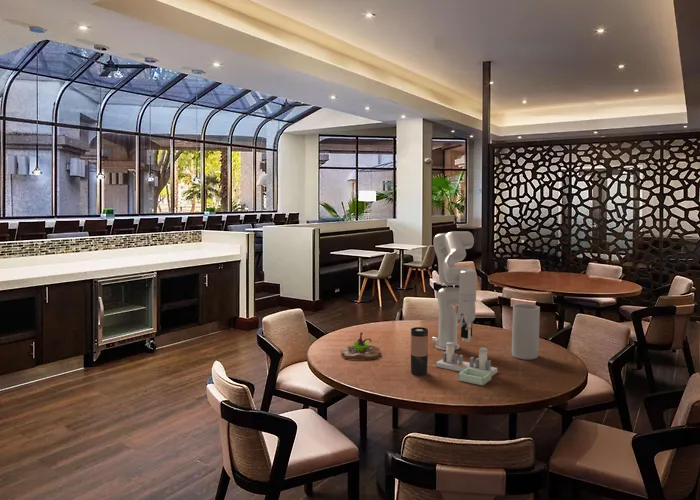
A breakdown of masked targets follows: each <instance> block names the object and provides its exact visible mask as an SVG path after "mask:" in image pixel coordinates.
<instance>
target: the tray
mask: <svg viewBox="0 0 700 500" xmlns="http://www.w3.org/2000/svg"><path fill="white" fill-rule="evenodd" d="M492 377H493V376H492V373H490V372H485V371H480V370H475V369H470V368H467V369H465V370H463V371H462V372H458V378H457V379H458V381H461V382H465V383H469V384H474V385H478V386H483V387H484V386H485V385H486V384H488V383H489V382H490V381H492Z"/></svg>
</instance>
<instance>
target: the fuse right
mask: <svg viewBox="0 0 700 500" xmlns="http://www.w3.org/2000/svg"><path fill="white" fill-rule="evenodd" d="M488 351H489V350H488V347H479V348H478V358H479V369H481V370H486V369H487V361H488Z"/></svg>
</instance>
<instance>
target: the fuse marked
mask: <svg viewBox="0 0 700 500" xmlns="http://www.w3.org/2000/svg"><path fill="white" fill-rule="evenodd" d="M464 323H465V321H464ZM464 325H465V326H466V324H464ZM471 328H472V327H471V322H469V323H468V328H467V330H468V338H467V339H466V338H461V340H462V341H463V342H468V343H469V342H471V339H472V336H471Z"/></svg>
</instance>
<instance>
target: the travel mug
mask: <svg viewBox="0 0 700 500" xmlns="http://www.w3.org/2000/svg"><path fill="white" fill-rule="evenodd" d="M428 360H429V330H428V328H426V327H422V326H421V327H420V326H419V327H418V326H417V327H412V328H410V373H411V374H412V375H414V376H426V375H427V374H428Z"/></svg>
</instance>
